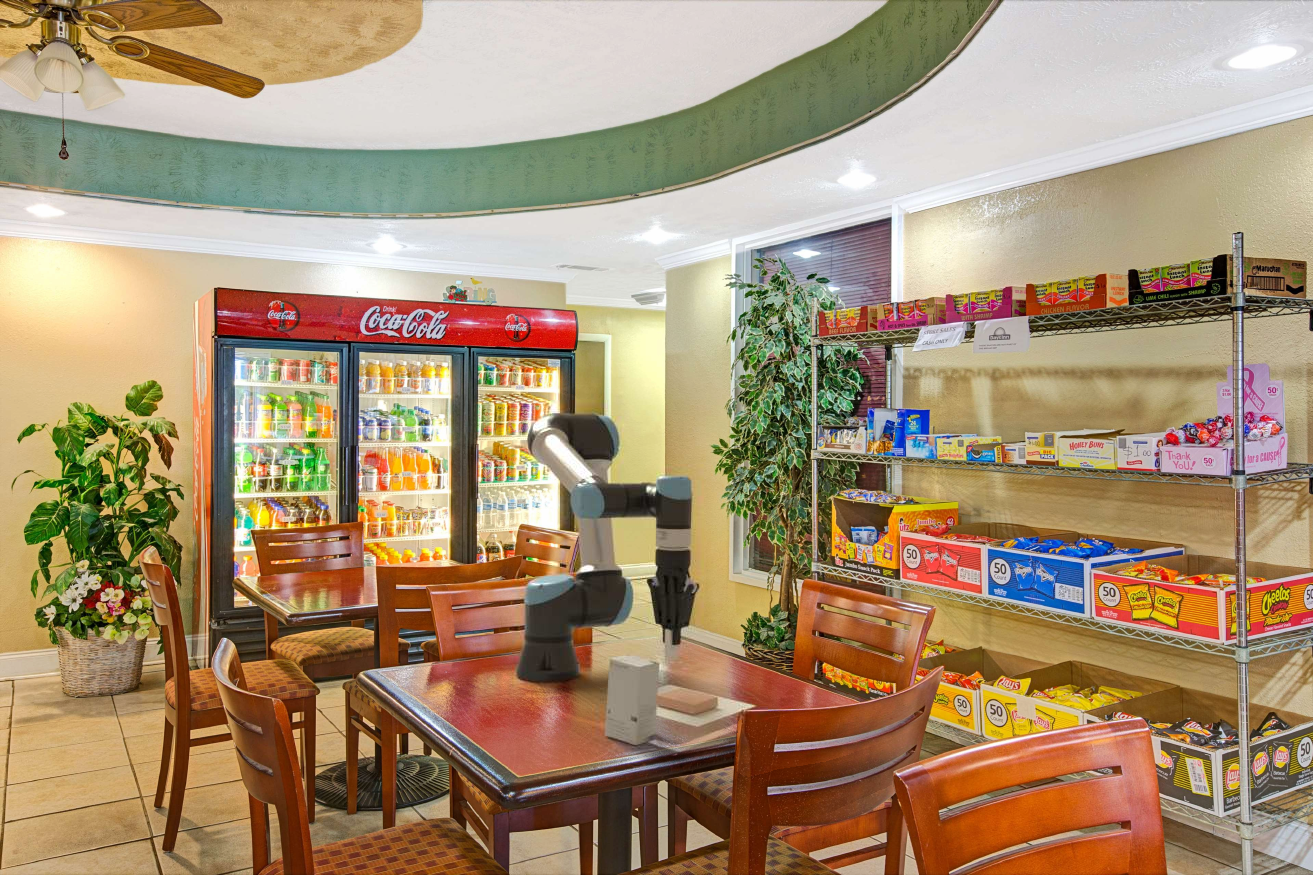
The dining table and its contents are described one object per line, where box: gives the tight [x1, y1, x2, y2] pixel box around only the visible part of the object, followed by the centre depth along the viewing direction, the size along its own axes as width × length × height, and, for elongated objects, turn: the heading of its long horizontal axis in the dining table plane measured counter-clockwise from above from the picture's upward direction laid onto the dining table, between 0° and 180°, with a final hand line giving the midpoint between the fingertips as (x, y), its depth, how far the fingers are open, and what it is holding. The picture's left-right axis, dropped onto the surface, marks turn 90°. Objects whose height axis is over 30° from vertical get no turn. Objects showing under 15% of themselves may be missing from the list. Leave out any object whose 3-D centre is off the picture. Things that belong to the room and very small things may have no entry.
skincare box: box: [604, 654, 660, 746], centre depth 169 cm, size 8×6×15 cm
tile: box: [657, 687, 719, 715], centre depth 186 cm, size 2×8×10 cm
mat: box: [656, 684, 756, 728], centre depth 188 cm, size 24×20×1 cm
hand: (671, 659), depth 189 cm, fingers closed
